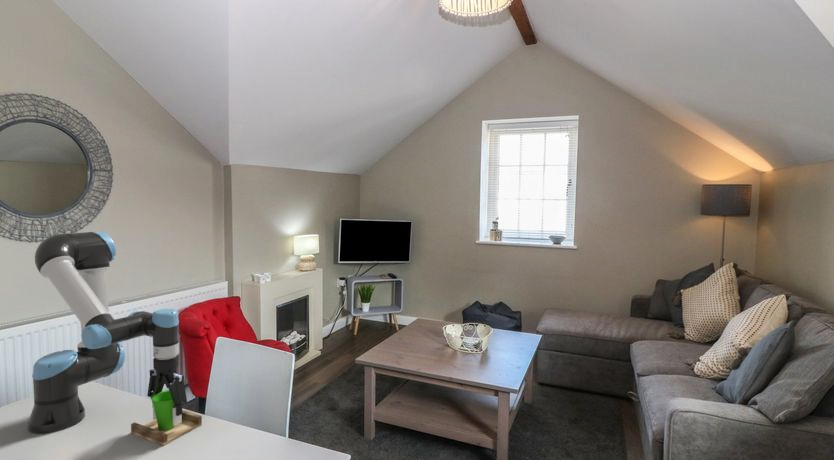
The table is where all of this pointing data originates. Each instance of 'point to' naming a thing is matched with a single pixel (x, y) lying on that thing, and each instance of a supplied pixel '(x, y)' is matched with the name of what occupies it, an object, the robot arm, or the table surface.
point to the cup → (163, 410)
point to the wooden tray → (165, 437)
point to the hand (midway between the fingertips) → (167, 420)
